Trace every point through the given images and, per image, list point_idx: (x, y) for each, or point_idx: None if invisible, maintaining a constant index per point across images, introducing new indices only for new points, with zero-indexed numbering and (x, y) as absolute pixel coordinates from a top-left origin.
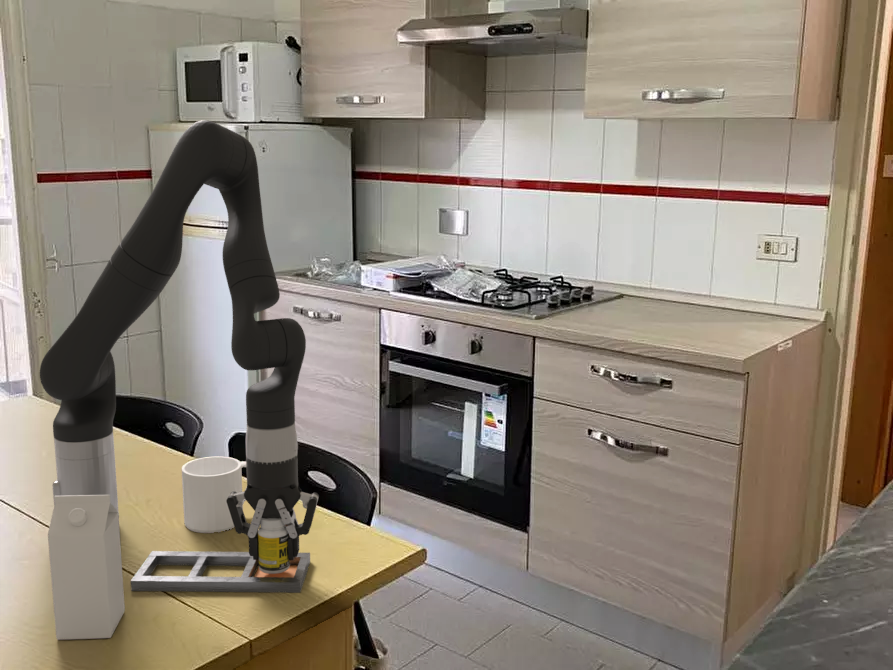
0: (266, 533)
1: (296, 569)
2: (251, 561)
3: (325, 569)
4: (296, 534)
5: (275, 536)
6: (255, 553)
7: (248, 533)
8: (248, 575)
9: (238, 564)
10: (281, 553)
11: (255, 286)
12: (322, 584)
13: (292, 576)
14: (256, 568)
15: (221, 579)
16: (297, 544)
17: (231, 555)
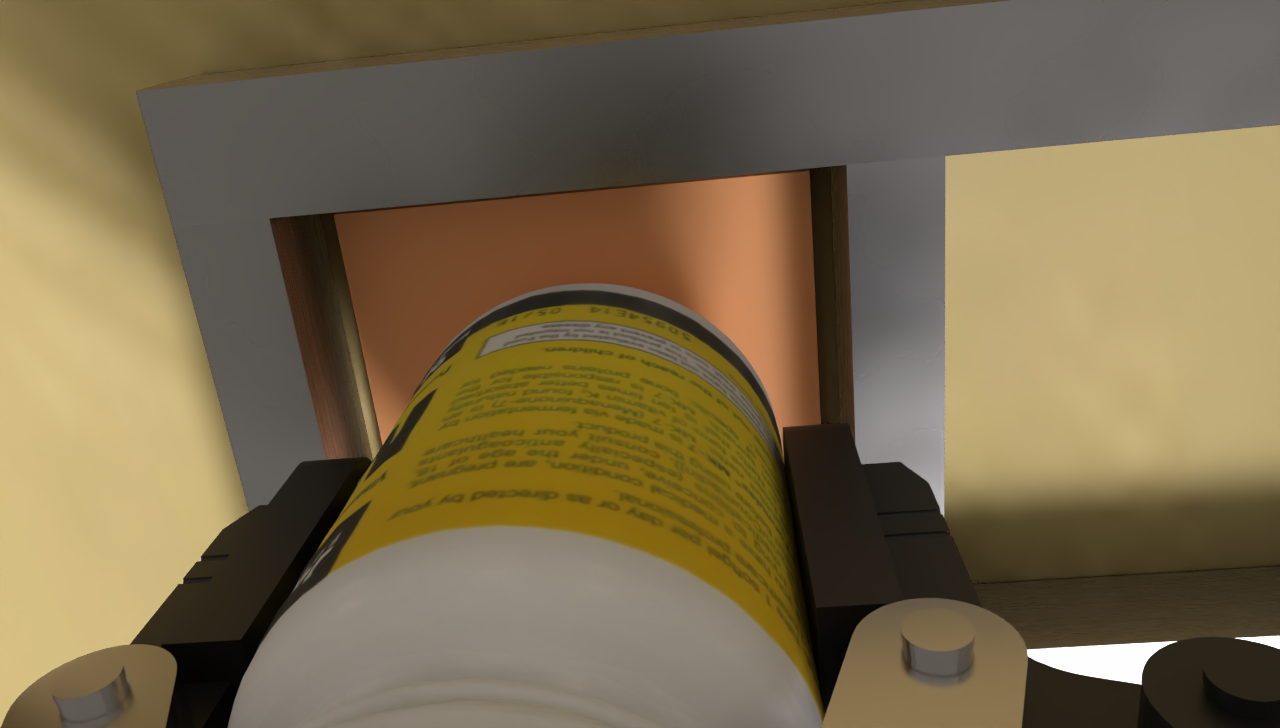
0: (579, 616)
1: None
2: None
3: (155, 587)
4: (30, 701)
5: (379, 564)
6: (821, 460)
7: (1009, 651)
8: (854, 205)
9: (1057, 590)
10: (395, 439)
11: None
12: (48, 290)
13: (399, 390)
14: None
15: (1198, 54)
16: (161, 615)
17: None
